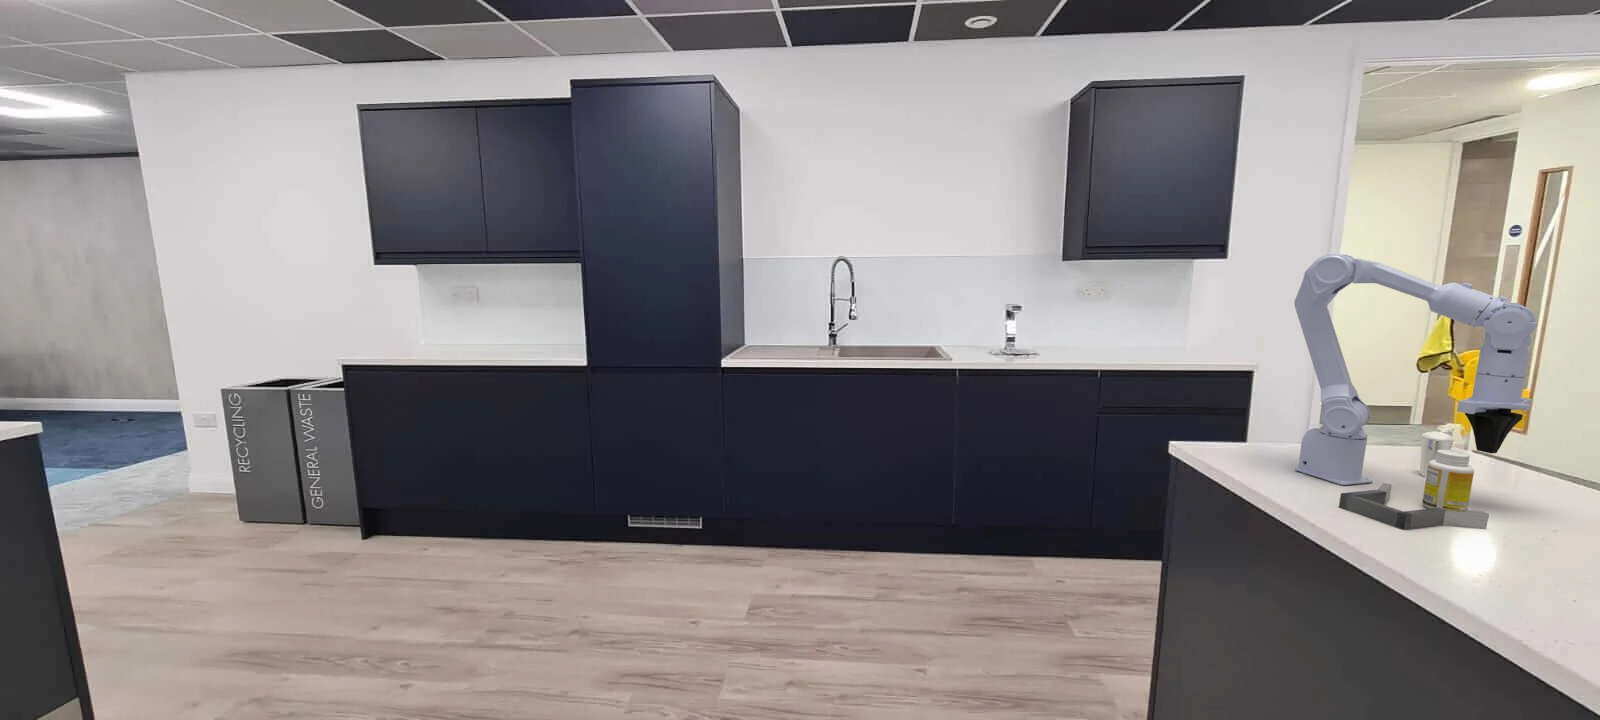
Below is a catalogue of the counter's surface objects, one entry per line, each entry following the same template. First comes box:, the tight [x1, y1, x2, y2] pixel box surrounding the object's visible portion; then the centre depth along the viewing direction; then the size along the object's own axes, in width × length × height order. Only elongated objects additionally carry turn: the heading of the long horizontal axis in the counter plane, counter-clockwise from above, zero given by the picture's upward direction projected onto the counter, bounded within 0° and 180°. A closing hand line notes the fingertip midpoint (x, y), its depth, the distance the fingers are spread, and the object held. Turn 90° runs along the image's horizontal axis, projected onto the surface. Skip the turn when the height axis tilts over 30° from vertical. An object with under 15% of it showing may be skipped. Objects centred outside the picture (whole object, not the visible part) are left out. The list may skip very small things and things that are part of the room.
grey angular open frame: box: [1338, 482, 1490, 531], centre depth 109 cm, size 15×14×2 cm
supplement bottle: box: [1422, 449, 1475, 510], centre depth 110 cm, size 6×6×10 cm
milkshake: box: [1417, 425, 1455, 478], centre depth 128 cm, size 4×5×10 cm
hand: (1486, 451), depth 112 cm, fingers closed
